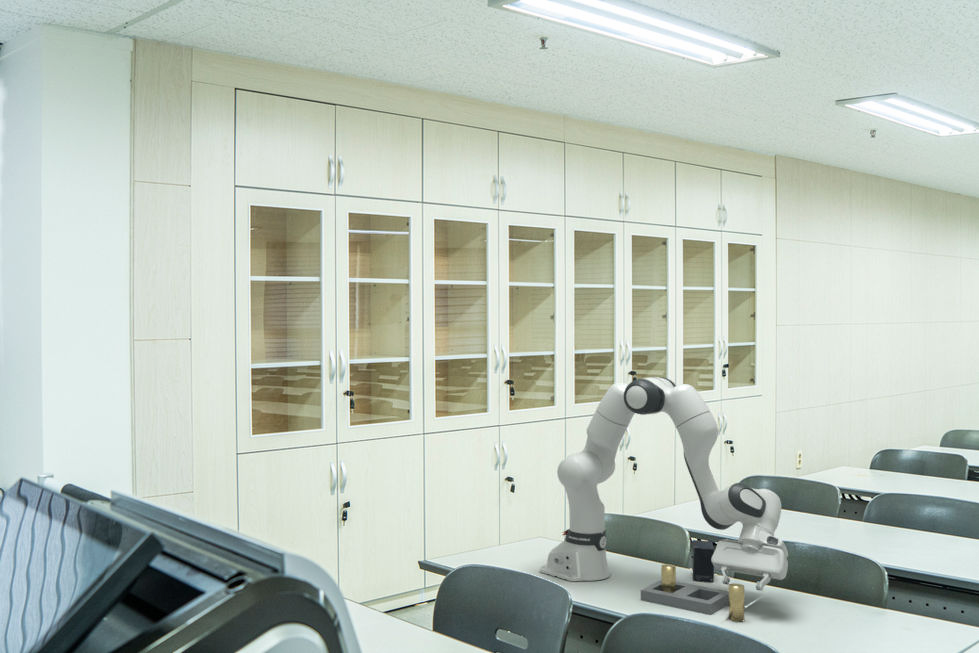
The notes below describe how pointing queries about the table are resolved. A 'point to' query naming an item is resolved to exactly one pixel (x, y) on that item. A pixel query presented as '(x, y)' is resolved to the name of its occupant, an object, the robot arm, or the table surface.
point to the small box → (703, 561)
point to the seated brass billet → (668, 578)
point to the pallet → (687, 597)
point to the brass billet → (736, 602)
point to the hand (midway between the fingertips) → (741, 586)
